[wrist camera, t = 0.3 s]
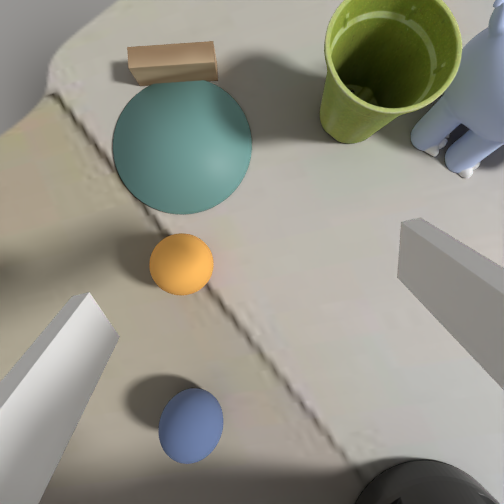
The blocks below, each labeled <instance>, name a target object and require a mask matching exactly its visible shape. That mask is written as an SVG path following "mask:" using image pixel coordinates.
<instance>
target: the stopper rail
mask: <svg viewBox="0 0 504 504" xmlns="http://www.w3.org/2000/svg"><path fill="white" fill-rule="evenodd" d="M127 50H128V68H129V70H130V71H131V73H132V74H133V76H134V77H135V79H136V81H137V82H138V84H139V85H140V86H148V85H152V84H157V83H172V82H186V81H200V80H205V81H218V73H217V60H216V55H215V49H214V44H213V41H209V42H195V43H180V44H166V45H152V46H137V47H127Z"/></svg>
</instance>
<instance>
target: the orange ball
mask: <svg viewBox="0 0 504 504" xmlns="http://www.w3.org/2000/svg"><path fill="white" fill-rule="evenodd" d="M149 267H150V272H151V275H152V278H153V280H154V281H155V283H156V284H157V285H158V286H159V287H160V288H161V289H162V290H164V291H166V292H168V293H170V294H174V295H188V294H192V293H194V292H197V291H198V290H200V289H201V288H202V287H203V286H204V285H205V284H206V283H207V282H208V281H209V279H210V277H211V275H212V271H213V257H212V254H211V251H210V249H209V248H208V246H207V245H206V244H205V243H204V242H203V241H202V240H201V239H199V238H197V237H196V236H193V235H190V234H174V235H171V236H168V237H166V238H164V239H163V240H162V241H160V242H159V243H158V244H157V245H156V247H155V248H154V250H153V252H152V254H151V257H150V265H149Z"/></svg>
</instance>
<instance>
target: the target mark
mask: <svg viewBox="0 0 504 504" xmlns="http://www.w3.org/2000/svg"><path fill="white" fill-rule="evenodd" d="M251 151H252V140H251V133H250V128H249V125H248V122H247V119H246V117H245V115H244V113H243V111H242V109H241V108H240V106H239V105H238V104H237V102H236V101H235V100H234V99H233V98H232V97H231V96H230V95H229V94H228V93H227V92H225V91H224V90H223V89H221V88H220V87H218V86H216V85H214V84H212V83H210V82H207V81H205V80H200V81H186V82H172V83H157V84H152V85H150V86H148V87H146V88H145V89H143V90H142V91H141V92H139V93H138V94H137V95H136V96H135V97H134V98H133V99H132V100H131V101H130V102H129V103H128V104H127V106H126V107H125V108H124V110H123V112H122V113H121V115H120V117H119V120H118V122H117V125H116V128H115V132H114V139H113V154H114V160H115V164H116V168H117V170H118V173H119V175H120V177H121V179H122V181H123V182H124V184H125V185H126V187H127V188H128V189H129V191H130V192H131V193H132V194H133V195H134V196H135V197H137V198H138V199H139V200H141V201H142V202H143V203H145V204H147V205H148V206H150V207H152V208H154V209H157V210H159V211H163V212H166V213H172V214H192V213H198V212H202V211H205V210H208V209H210V208H212V207H214V206H216V205H218V204H219V203H221V202H222V201H224V200H225V199H226V198H228V197H229V196H230V195H231V194H232V193H233V192H234V191H235V190H236V188H237V187H238V186H239V184H240V183H241V181H242V179H243V178H244V176H245V174H246V171H247V169H248V166H249V162H250V158H251Z"/></svg>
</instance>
